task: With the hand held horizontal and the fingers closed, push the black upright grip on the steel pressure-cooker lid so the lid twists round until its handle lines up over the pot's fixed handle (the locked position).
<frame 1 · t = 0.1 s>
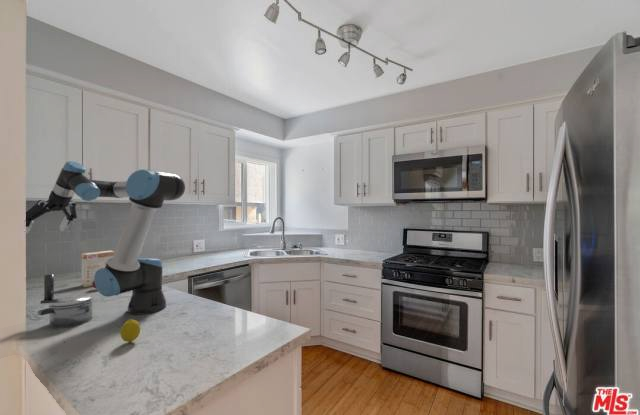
hand: (44, 230, 133), 36 cm above the countertop, tool tilted 35°, fingers open, 13 cm apart
coffeecake box: (98, 284, 176), on the countertop
onion: (98, 290, 163), on the countertop
pot: (71, 321, 116), on the countertop
lemon: (130, 343, 97), on the countertop
lid: (67, 287, 115), point 14 cm above the countertop, hinge at -50.0°
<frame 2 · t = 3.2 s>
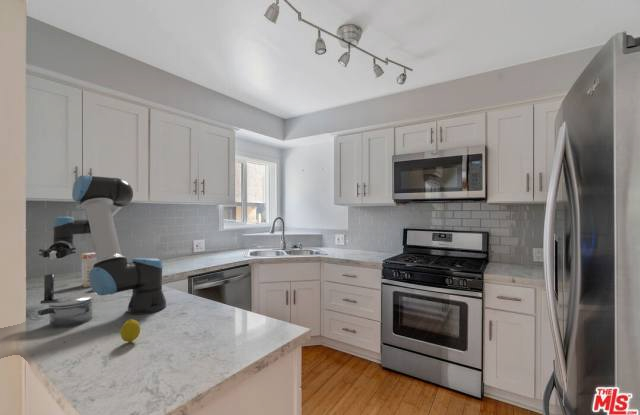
hand: (52, 256, 119), 26 cm above the countertop, tool horizontal, fingers closed
nothing on the countertop moved.
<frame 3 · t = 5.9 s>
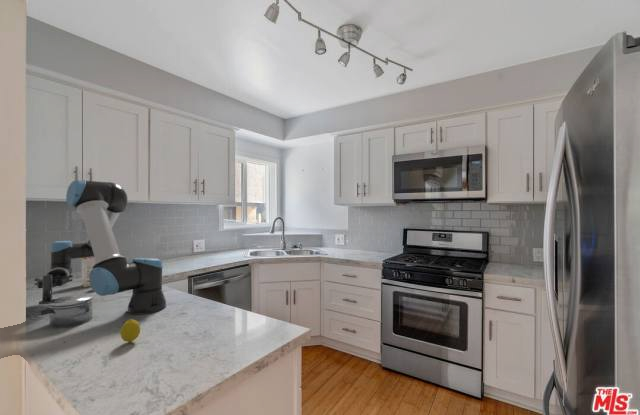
hand: (46, 288, 114), 14 cm above the countertop, tool horizontal, fingers closed
lid: (66, 287, 115), point 14 cm above the countertop, hinge at -43.1°, touching gripper
everything else where it was.
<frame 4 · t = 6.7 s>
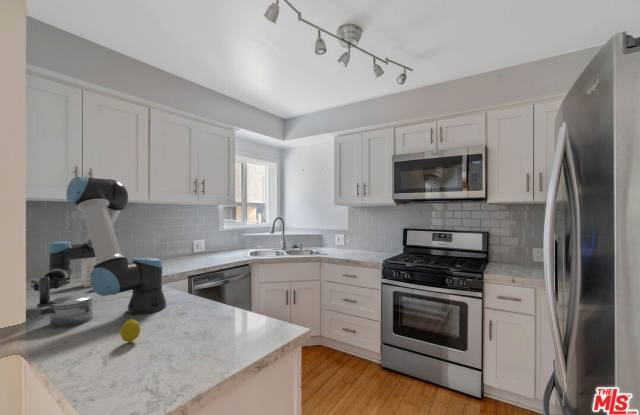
hand: (41, 291, 110), 14 cm above the countertop, tool horizontal, fingers closed
lid: (66, 288, 114), point 14 cm above the countertop, hinge at -11.6°, touching gripper
everything else where it was.
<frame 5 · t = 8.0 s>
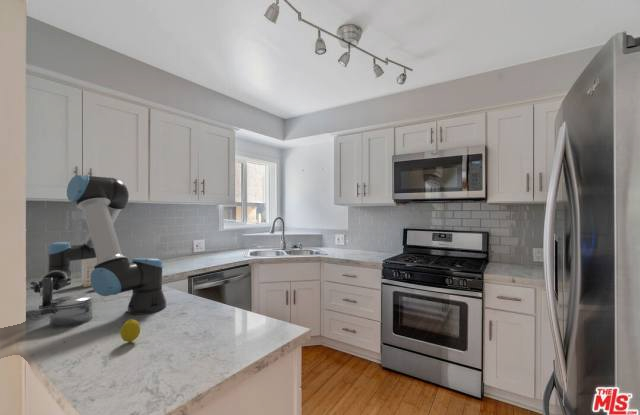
hand: (42, 292, 108), 14 cm above the countertop, tool horizontal, fingers closed
lid: (67, 288, 114), point 14 cm above the countertop, hinge at 9.5°, touching gripper
everything else where it was.
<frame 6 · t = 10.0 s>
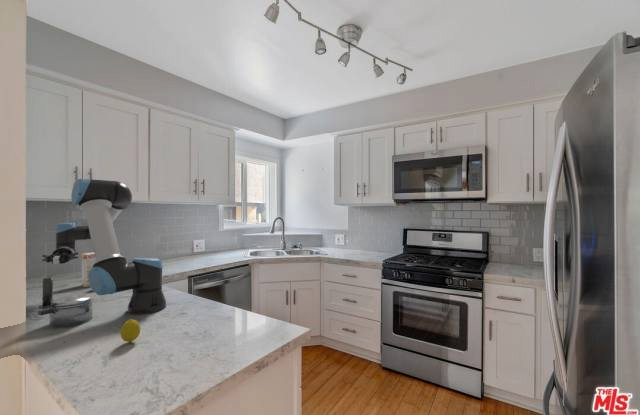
hand: (55, 260, 121), 24 cm above the countertop, tool horizontal, fingers closed
lid: (67, 288, 114), point 14 cm above the countertop, hinge at 9.7°
everything else where it was.
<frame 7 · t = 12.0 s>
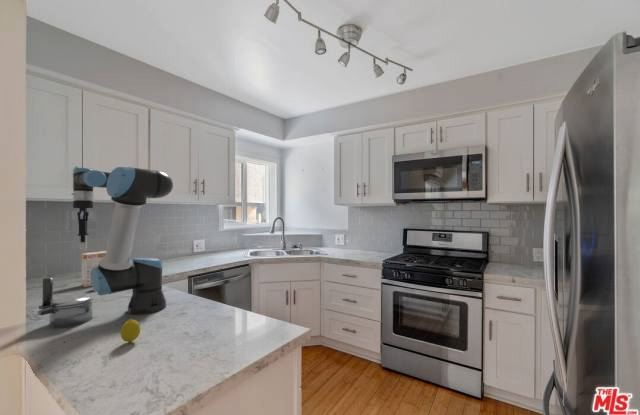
hand: (82, 248, 138), 27 cm above the countertop, tool pointing down, fingers closed
nothing on the countertop moved.
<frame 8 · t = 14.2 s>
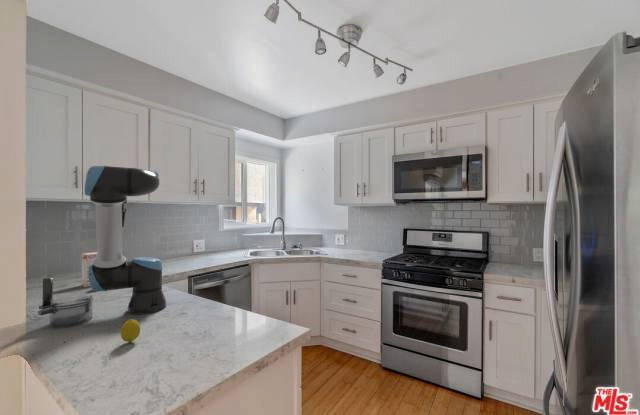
hand: (118, 239, 154), 29 cm above the countertop, tool pointing down, fingers closed
nothing on the countertop moved.
at the end: lid at +10° (first picture: -50°); lid touching nothing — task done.
